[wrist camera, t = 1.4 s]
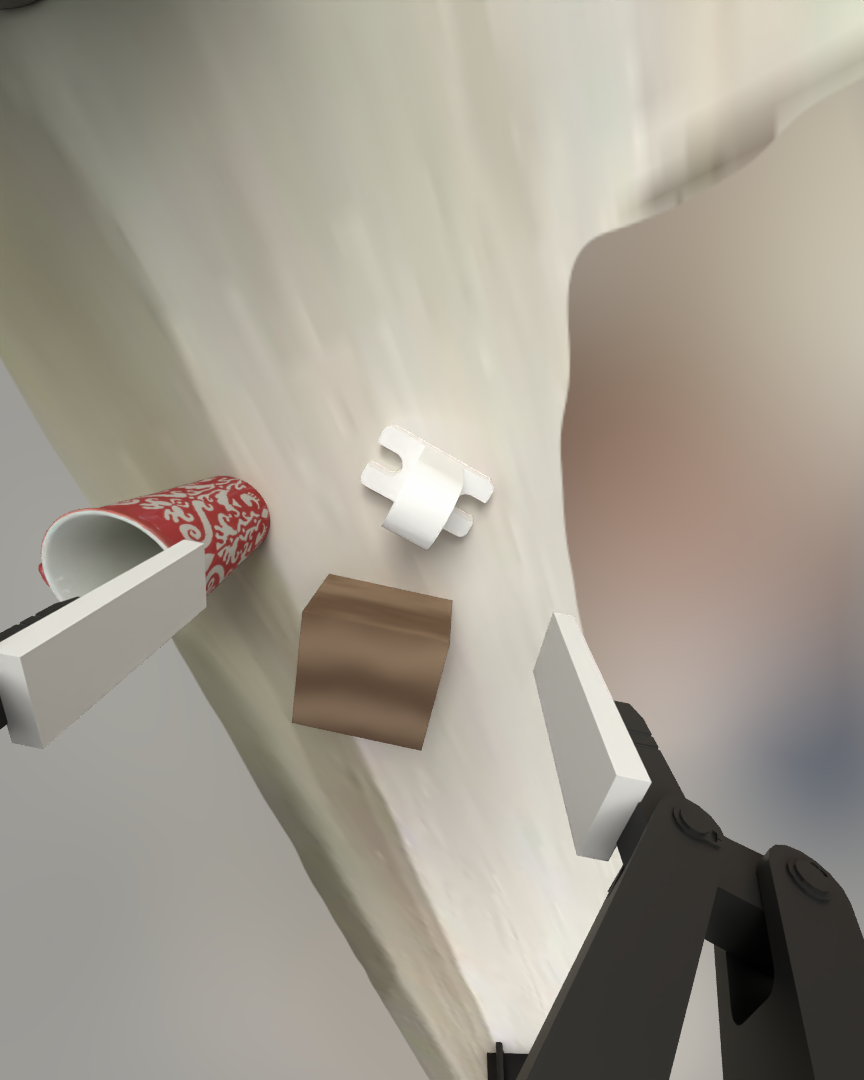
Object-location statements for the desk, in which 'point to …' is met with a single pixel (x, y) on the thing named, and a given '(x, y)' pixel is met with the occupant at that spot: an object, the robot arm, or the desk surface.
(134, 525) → the mug
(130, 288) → the desk surface
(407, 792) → the desk surface
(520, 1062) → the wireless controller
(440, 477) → the cable organizer
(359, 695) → the walnut block
